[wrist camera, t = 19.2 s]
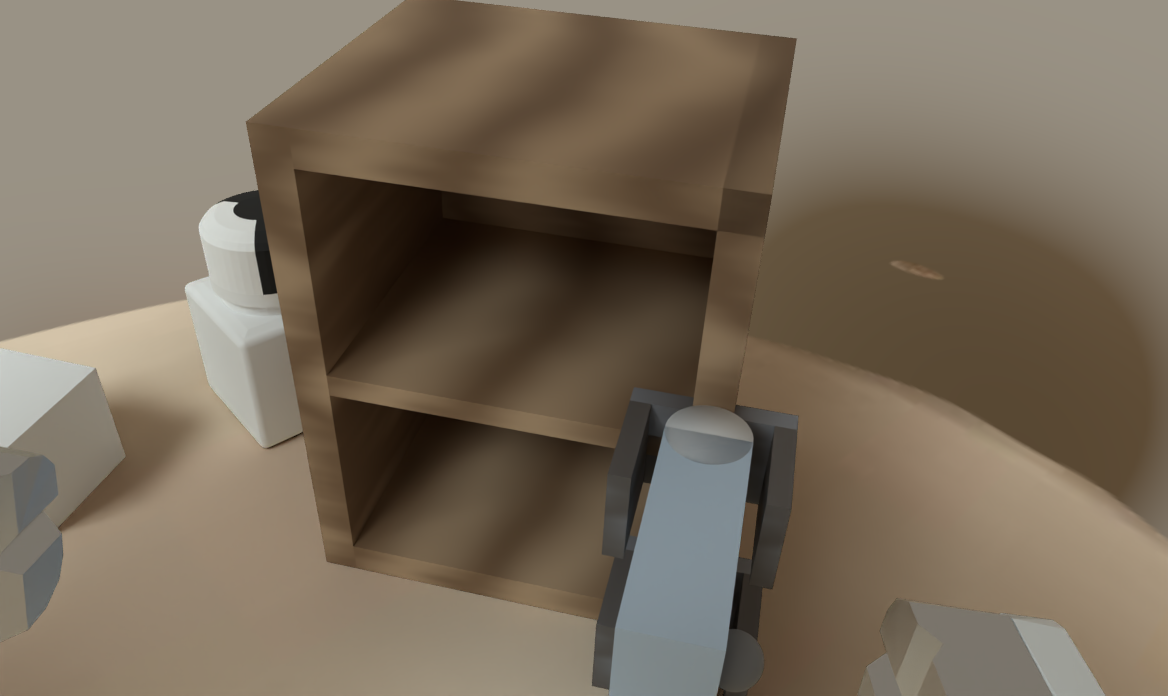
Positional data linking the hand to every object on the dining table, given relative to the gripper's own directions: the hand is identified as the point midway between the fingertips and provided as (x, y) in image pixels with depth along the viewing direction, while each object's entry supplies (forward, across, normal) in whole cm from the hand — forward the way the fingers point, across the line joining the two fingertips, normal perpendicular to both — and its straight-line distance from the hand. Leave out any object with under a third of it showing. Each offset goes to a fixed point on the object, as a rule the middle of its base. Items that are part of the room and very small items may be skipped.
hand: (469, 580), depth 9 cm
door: (+20, -7, +24) cm, 32 cm away
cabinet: (+32, -1, +21) cm, 39 cm away
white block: (+32, +25, +25) cm, 48 cm away
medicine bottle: (+40, +15, +22) cm, 48 cm away
